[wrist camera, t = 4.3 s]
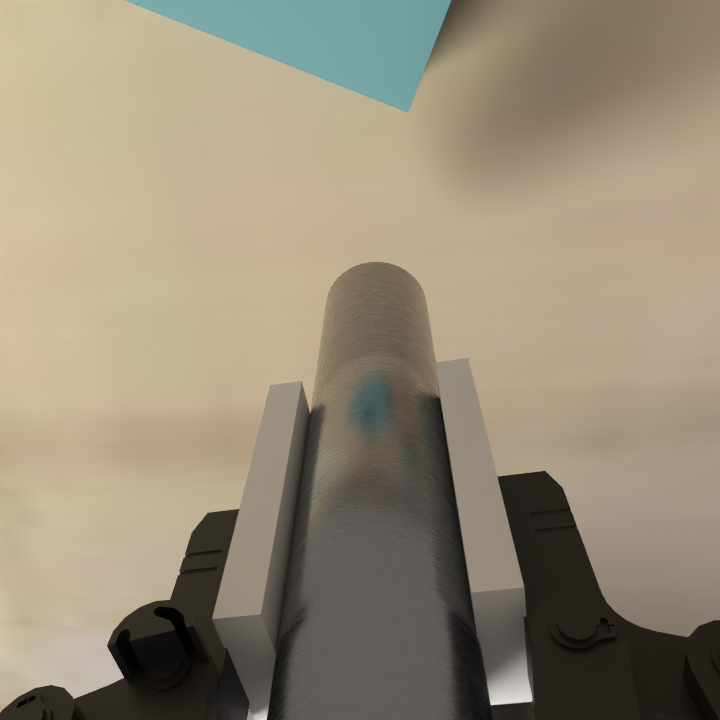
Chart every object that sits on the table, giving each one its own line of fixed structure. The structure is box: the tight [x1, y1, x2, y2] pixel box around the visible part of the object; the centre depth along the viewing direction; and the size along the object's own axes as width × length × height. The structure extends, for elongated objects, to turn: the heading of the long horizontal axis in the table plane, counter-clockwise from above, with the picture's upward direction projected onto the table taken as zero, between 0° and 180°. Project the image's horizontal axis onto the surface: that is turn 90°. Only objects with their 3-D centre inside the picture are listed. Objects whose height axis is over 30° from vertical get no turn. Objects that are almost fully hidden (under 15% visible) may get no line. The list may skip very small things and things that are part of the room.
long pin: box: [267, 262, 493, 720], centre depth 15 cm, size 3×3×15 cm
